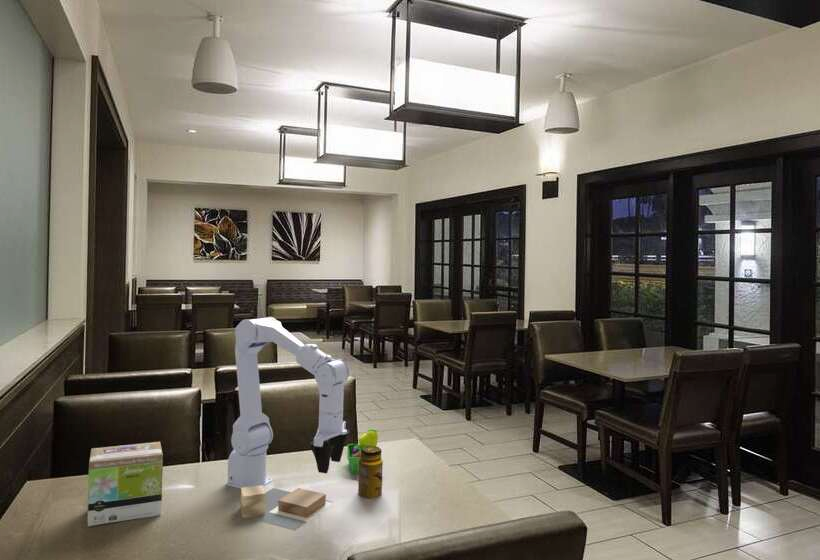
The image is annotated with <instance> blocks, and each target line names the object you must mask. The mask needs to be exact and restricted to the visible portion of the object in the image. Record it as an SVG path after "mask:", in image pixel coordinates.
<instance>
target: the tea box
mask: <svg viewBox="0 0 820 560" xmlns="http://www.w3.org/2000/svg"><path fill="white" fill-rule="evenodd" d="M162 449H163V448H162V445H161V441H152V442H143V443H134V444H125V445H115V446H114V445H113V446H106V447H105V446H102V447H93V448H91V449H90V456H89V462H88V483H87V485H88V486H87V487H88V489H87V490H88V491H87V527H88V528H89V527H93V526H97V525H98V526H99V525H103V524H109V523H117V522H123V521H129V520H130V521H131V520H137V519H138V520H139V519H143V518H144V519H145V518H150V517H152V518H155V517H159V516H160V517H161V514H162V505H163V503H162V502H163V468H164V465H163V463H164V461H163V459H164V454H163V450H162Z"/></svg>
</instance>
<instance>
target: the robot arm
mask: <svg viewBox="0 0 820 560" xmlns="http://www.w3.org/2000/svg"><path fill="white" fill-rule="evenodd" d="M234 334H235V345H234V353H235V366H236V377H237V378H236V379H237V389H238V400H239V401H238V403H239V412H240V413H239V414H240V415H239V417H237V419H236V420H235V422H234V424H233V425H232V433H231V434H232V435H231V438H230V439H231V440H230V441H231V447H232V449H233V450H232V451H231V452H230V454H229V455H228V460H227V482H225V486H229V487H233V488H237V489H240V490H241V488H243V487H251V486H260V485H263V487H265V486H266V485H269V484H271V483H272V482H273V481H274V480H273V479H272V478H267V450H268V449H269V444H271V443H272V441H273V438H274V432H273V431H274V430H273V428H272V427H271V424H270V417H268V416H267V415H266V414H265V413H263V412H262V411H263V410H262V409H263V407H262V397H261V395H262V394H261V385H260V375H259V374H260V373H259V363H258V362H259V361H258V353H259V352H260V351H261V350H262V348H263V347H264V346H266V345H268V344H270V343H272V342H273V343H274V344H276V345H277V346H279V347H281V348H282V349H284V350H285V351H287V352H288V353H290V354H292V355H294V356H295V362H296V364H298V365H299V366H301V367H302V368H303V369H304V370H306V371H307V372H308V373H311V374H312V375H314V378H315V382H316V383H317V386H318V388H317V389H318V392H319V400H318V401H319V404H318V405H319V407H318V428H317V431H316V434H315V436H314V437H313V441H311V442H310V443H309V449H310V450H311V452H312V454H313V456H314V459H315V463H316V468H317V471H318V473H321V474H328V471H329V469H330V461H331V462H336V463H340V462H341V460H342V455H343V451H344V449H345V445H346V442H347V440H348V438H349V436H350V431H348V429H346V424H347V421H345V420H344V419H343V418H344V395H345V394H344V390H345V389H344V388H345V382H346V381H347V380H348V378H349V376H350V370H349V367H348V366H349V365H348V364H347V363H346V362H345V361H344V360H343V359H340V358H335V359H334V358H333V357H332V356H331V355H330V354H327V353H325V352H323V351H322V350H320V349H319V346H318V345H317V344H316V343H313V344H312V343H307V344H304V343H303V342H302V341H300V339H298V338H297V337H296V336H294V335H293V334H292V333H290V331H288V330H287V329H285V328H284V327H283V326H282V322H281V321H279V320H277V319H276V318H275V317H274V316H273V317H272V316H267V317H266V316H265V317H261V318H252V319H251V318H250V319H248V318H247V319H243V320H240V322H239V323H238V324H237V326H236V327H234Z"/></svg>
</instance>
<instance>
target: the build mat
mask: <svg viewBox="0 0 820 560" xmlns="http://www.w3.org/2000/svg"><path fill="white" fill-rule="evenodd" d="M291 492H292V491H288V490H283V489H279V488H274V487H273V488H271V489H269V490H268V491H265V515H260V516H252V517H245V518H246V519H250V520H254V521H258V522H262V523H265V524H269V525H273V526H277V527H280V528H284V529H288V530H293V531H297V530H298V529H299V528H300V527H302V526H303V525H304V524H306V523H310V522H311V521H312V520H314V519H315V518H317V517H318V516H320V514H322V513H323V512H324V511H326V510H327V509H328V508H330V507H331V506H332V505H334V504H335V503H334V501H331V500H326V504H325V505H324V506H323V507H321V508H320V509H318V510H317V511H316V512H314V513H313V514H312V515H310V516H309V517H307V518H305V517H301V516H297V515H293V514H289V513H285V512H281V511H278V500H280V499H281V498H283V497H285V496H286V495H288V494H289V493H291ZM230 514H232V515H235V516H239V517H242V512H241V506H240V507H239V508H237V509H235V510H234V511H232V512H230Z"/></svg>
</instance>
